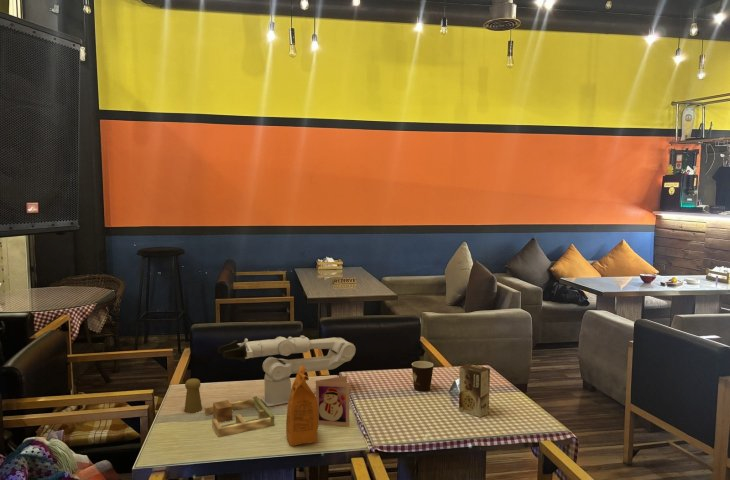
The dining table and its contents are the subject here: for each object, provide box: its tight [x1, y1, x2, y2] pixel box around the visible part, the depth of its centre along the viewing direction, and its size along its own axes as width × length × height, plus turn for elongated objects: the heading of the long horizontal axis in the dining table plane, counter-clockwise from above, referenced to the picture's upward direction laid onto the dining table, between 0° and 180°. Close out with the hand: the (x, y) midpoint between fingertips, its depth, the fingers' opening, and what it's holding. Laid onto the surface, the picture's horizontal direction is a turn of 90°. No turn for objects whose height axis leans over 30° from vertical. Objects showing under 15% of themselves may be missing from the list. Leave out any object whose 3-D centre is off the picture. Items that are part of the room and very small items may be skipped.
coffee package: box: [285, 365, 319, 447], centre depth 168 cm, size 10×12×22 cm
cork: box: [184, 378, 203, 414], centre depth 189 cm, size 6×6×11 cm
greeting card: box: [315, 375, 351, 428], centre depth 180 cm, size 11×7×15 cm, turn 82°
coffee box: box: [458, 363, 491, 418], centre depth 190 cm, size 9×6×16 cm
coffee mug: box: [411, 360, 434, 393], centre depth 213 cm, size 12×9×10 cm
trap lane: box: [204, 395, 275, 437], centre depth 182 cm, size 18×20×3 cm
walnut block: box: [212, 400, 234, 424], centre depth 182 cm, size 5×6×5 cm
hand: (221, 352), depth 187 cm, fingers open, 7 cm apart
